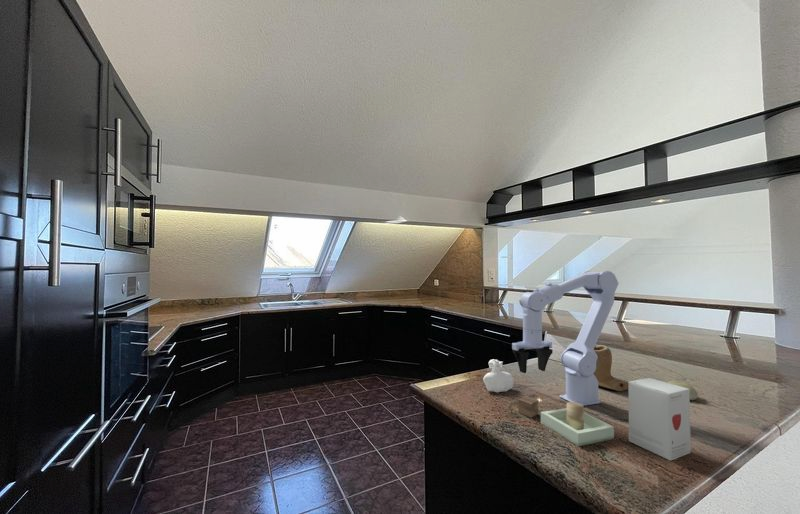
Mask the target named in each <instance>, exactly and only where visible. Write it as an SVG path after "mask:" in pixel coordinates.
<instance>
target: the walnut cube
mask: <svg viewBox="0 0 800 514" xmlns="http://www.w3.org/2000/svg"><path fill="white" fill-rule="evenodd" d="M517 401H518V402H517V403H518V404H517V406H518V409H517V411H518V414H520V415H522V416H526V417H529V418H530V419H531V418H534V417H535V416H537V415H539V400H537V399H534V398H532V397H529V396H526V395H525V396H522V397H520V398H518V399H517Z"/></svg>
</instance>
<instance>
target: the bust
mask: <svg viewBox="0 0 800 514" xmlns="http://www.w3.org/2000/svg"><path fill="white" fill-rule="evenodd" d="M503 363H504V361H500V360H498V359H494V358H493V359H490V360H489V361H488V366H489V367H488V368H489V369H491V371H490V372H487V373H486V374H485V375H483V383H484V384H485V387H486V390H487V391H488V392H494V393H500V392H508V391H509V390H511V389H512V388H513V387H514V377H513V375H512V374H511V373H509V372H507V371H502V368H503Z"/></svg>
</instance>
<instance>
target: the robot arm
mask: <svg viewBox="0 0 800 514" xmlns="http://www.w3.org/2000/svg"><path fill="white" fill-rule="evenodd" d="M618 286H619V282H618V279H617V277H616V275H615V273H613V272H612V271H609V270H605V271H589V270H588V271H584V272H581V273H580V272H579V273H578V274H577V275H574V276H572V277H571V278H569V279H567V280H565V281H563V282H561V283H559V284H557V283H555V282H547V283H545V286H542V287H540V288H534V289H533V291H531V292H529V291H526V292H524V293H523V294H522V295H521V297H520V299H519V300H518V301H519V306H520V307H521V308H522V341H517V342H512V343H511V349H512V353H513V354H514V356H515V359H516V363H517V364H518V368H519V372H520V373H523V374H527V366H528V365H527V364H528V358H529V356H530V355H529V354H530V352H528V351H526V350H533V349H534V350H535V351H536V356H537V357H536V358H537V368H538V370H539V371H542V372H546V368H547V365H548V362H549V360H550V357H551V356H552V354H553V342H552V341H550V340H543V310H544V309H545V308H546V306H548V305H550V304H552V303H554V302H557V301H559V300H562V298H564V297H563V296H564V294H566V293H569V292H572V291H575V290H577V289H580V288H583V289H584V290H585V291H586V292H587V293H588V295H589V296H590V297H591V298H592V300H593V301H592V304H591V306H590V308H589V309H588V313H587V315H586V317H585V319H584V321H583V324H582V326H581V328H580V331H579V332H578V335H577V337H576V340H575V341H573V342H572V343H569V344H568V346H567V348H566V349H564V351H562V353H561V355H560V362H561V365H562V366H564V371H565V394H560V395H559V398H561V399H563V400H565V401H567V402H576V403H579V404H581V405H583V406H591V405H597V404H601V403H602V402H601V400H599V386H598V380H597V378H596V377H595V375H594V374H593V373H594V372H595V370H596V361H597V358H598V356H597V354H596V353H595V351H594V347H595V345H597V342H598V340H599V338H600V335H601V333H602V331H603V328H604V327H605V325H606V324H605V323H606V321H607V319H608V317H609V314H610V313H611V311H612V307H613V306H614V303H615V295H616V294H615V293H616V290H617V289H618Z"/></svg>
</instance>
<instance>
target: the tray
mask: <svg viewBox="0 0 800 514" xmlns="http://www.w3.org/2000/svg"><path fill="white" fill-rule="evenodd" d="M540 424H541V425H544V426H545V427H546V428H547V429H549V430H551V431H553V432H554V433H556V434H557V435H559V436H560V437H563V438H564V439H566V440H567V441H569V442H571V443H572V444H573V445H576V446H577V447H582V446H586V445H587V446H588V445H591V444H598V443H601V442H605V441H606V442H607V441H610V440H615V426H614V425H611V424H609V423H607V422H605V421H603V420H601V419H599V418H597V417H595V416H592V415H591V414H588V413H587V412H585V411H584V429H583V430H576V429H574V428H572V427H571V426H569V425H567V407H564V408H559V409H552V410H546V411H541V412H540Z"/></svg>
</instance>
